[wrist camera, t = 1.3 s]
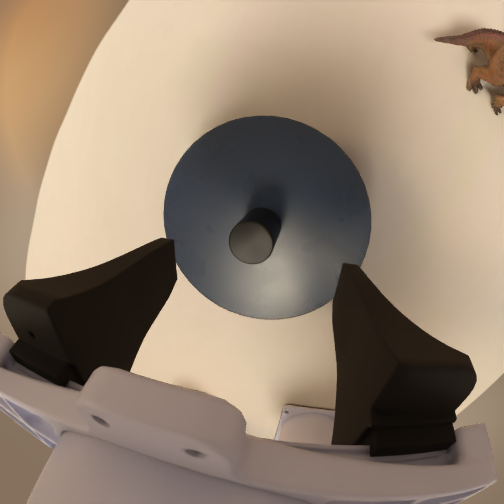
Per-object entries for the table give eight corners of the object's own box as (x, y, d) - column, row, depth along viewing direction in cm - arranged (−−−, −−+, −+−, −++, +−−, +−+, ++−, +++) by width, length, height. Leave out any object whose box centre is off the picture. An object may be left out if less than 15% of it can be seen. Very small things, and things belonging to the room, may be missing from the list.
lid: (344, 324, 21) (349, 364, 17) (171, 293, 23) (143, 323, 19) (382, 134, 16) (403, 130, 12) (174, 114, 18) (139, 108, 14)
